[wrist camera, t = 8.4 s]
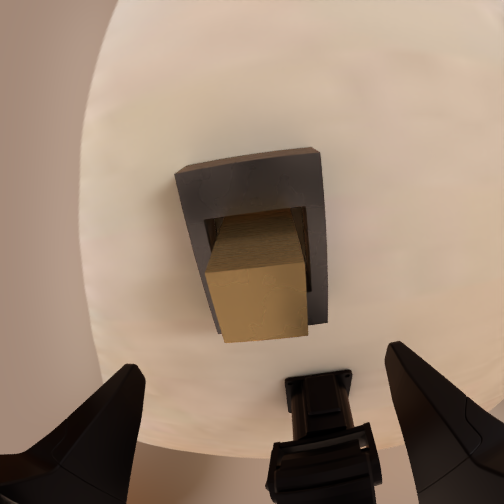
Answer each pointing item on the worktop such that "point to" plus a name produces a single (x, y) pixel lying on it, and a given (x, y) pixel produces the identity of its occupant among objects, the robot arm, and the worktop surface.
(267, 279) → the brass block
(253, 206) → the steel rail
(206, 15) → the worktop surface
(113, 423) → the robot arm
